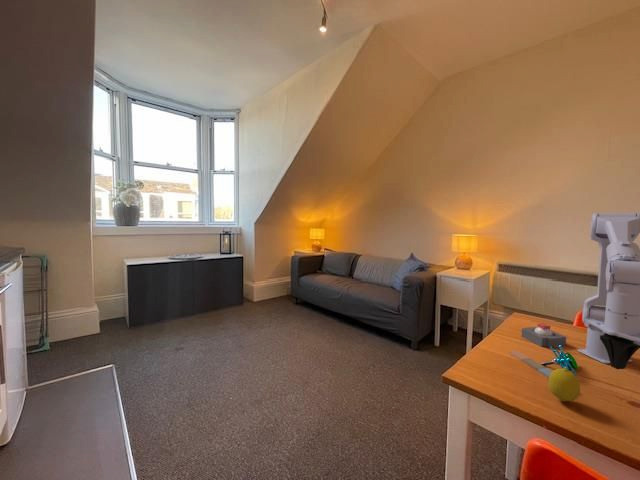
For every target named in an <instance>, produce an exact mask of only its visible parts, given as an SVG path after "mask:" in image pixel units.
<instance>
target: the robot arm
mask: <svg viewBox="0 0 640 480" xmlns="http://www.w3.org/2000/svg"><path fill="white" fill-rule="evenodd" d="M639 234H640V212H626V213H625V212H623V213H622V212H621V213H619V212H618V213H612V212H608V213H607V212H606V213H603V212H602V213H598V212H594V213H593V214H592V215H591V218H590V235H589V236H590V240H592V241H595V242H597V243H598V246H599V262H598V264H599V265H598V275H597V276H598V277H597V290H596V295H593V296H590V297H587V298H585V300H584V301H583V307H582V316H581V317H582V318H581V319H582V320H581V321H582V323H584V327H586V328H587V332H586V342H585V344H586V345H585V348H582V349H581V348H580V349H577V352H579V353H581V354H583V355H586V356H588V357H590V358H591V359H594V360H596V361H598V362H601V363H602V364H606V365H607V364H610V367H611V368H614V369H616V370H624V369H625V368H626V367H627V364H628V363H632V362H633V360H632V359H631V357H633V356H634V354H635V353H636V352H637V351H638V350H640V246H639V245H638V244H637V243H636V242H634V241H636V239H637V238H638V236H639Z"/></svg>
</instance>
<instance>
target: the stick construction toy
mask: <svg viewBox="0 0 640 480" xmlns="http://www.w3.org/2000/svg"><path fill="white" fill-rule="evenodd" d="M549 348H550V349H551V351H552V352H553V354H554V356H555V357H556V358H554V359H552V360H551V361H545V362H541V363H540V364H541V365H543V366H544V367H546V366H549V365H556V366H558V365H560V367H561V368H560V369H563V368H566V369H567V370H568V371H570V372H572V373H573V374H574V375H575V376H576V377H577V376H578V375H577V372H576V371H575V370H578V368H579V366H578V363H577V361H576V358H574V356H573V355H572V354H571V353H570V352H567V351H566V352H564V349H563V346H557V347H556V348H558V349H560V351H559V350H558V349H554V348H555V347H554V346H550V347H549Z"/></svg>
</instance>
